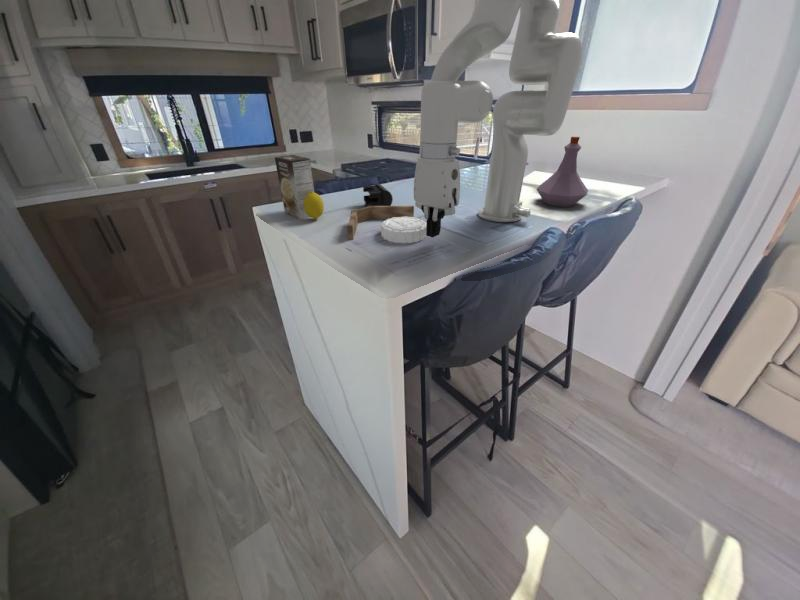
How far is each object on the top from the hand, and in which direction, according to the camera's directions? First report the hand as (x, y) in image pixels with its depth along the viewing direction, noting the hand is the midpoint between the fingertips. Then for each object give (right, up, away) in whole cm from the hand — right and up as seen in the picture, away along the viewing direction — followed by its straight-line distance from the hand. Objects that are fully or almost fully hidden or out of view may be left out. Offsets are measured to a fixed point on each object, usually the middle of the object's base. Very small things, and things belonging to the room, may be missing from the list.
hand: (432, 235), depth 78 cm
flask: (+46, +17, +32) cm, 59 cm away
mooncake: (-7, +1, +7) cm, 10 cm away
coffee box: (-38, +11, +22) cm, 45 cm away
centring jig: (-15, +6, +14) cm, 21 cm away
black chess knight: (-15, +14, +28) cm, 35 cm away
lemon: (-33, +8, +17) cm, 38 cm away
